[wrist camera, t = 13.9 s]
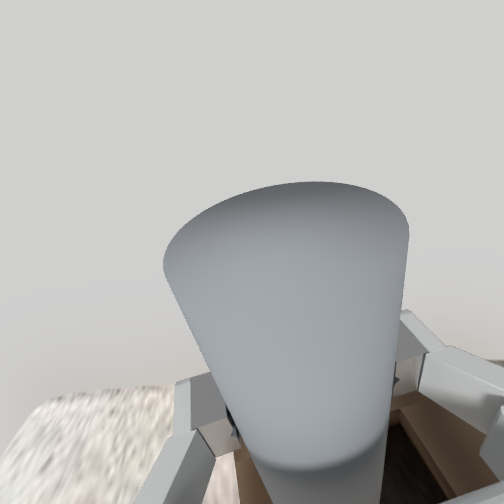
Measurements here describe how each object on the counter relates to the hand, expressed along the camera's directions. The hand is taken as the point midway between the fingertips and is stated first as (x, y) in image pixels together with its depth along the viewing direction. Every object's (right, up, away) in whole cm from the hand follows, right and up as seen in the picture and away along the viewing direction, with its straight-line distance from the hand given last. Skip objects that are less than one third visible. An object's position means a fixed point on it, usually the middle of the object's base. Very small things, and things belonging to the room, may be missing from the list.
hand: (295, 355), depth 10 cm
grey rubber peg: (+1, -6, +3) cm, 7 cm away
